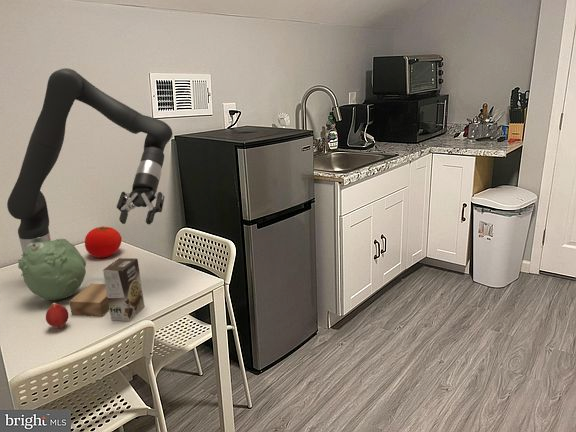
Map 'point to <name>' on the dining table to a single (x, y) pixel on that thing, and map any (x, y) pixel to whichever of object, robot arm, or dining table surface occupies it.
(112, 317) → the coffee box
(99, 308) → the walnut box
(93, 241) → the tomato
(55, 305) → the onion
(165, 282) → the dining table surface
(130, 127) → the robot arm
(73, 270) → the cabbage
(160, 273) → the dining table surface
